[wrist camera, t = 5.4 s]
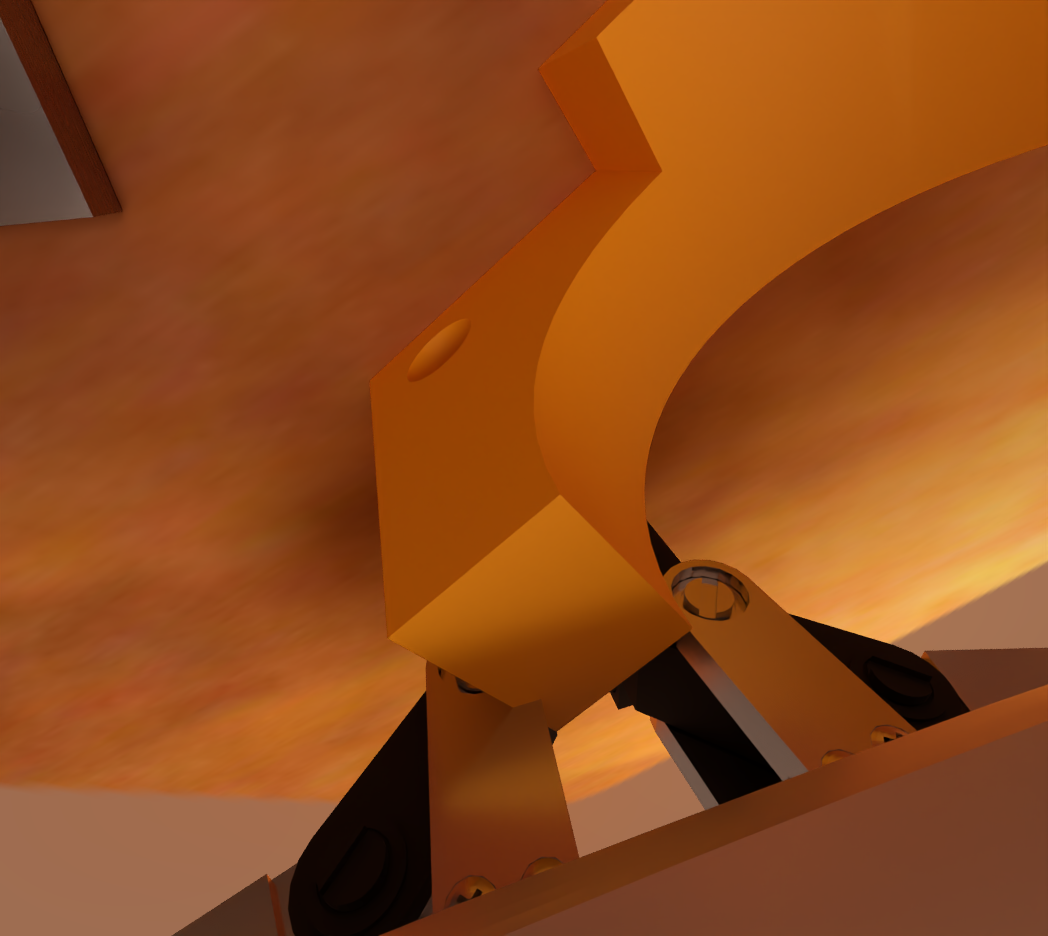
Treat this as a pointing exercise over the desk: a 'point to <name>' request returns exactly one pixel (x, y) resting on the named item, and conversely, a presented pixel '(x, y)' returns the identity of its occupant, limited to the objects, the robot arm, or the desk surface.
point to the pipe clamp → (655, 303)
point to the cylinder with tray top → (42, 132)
